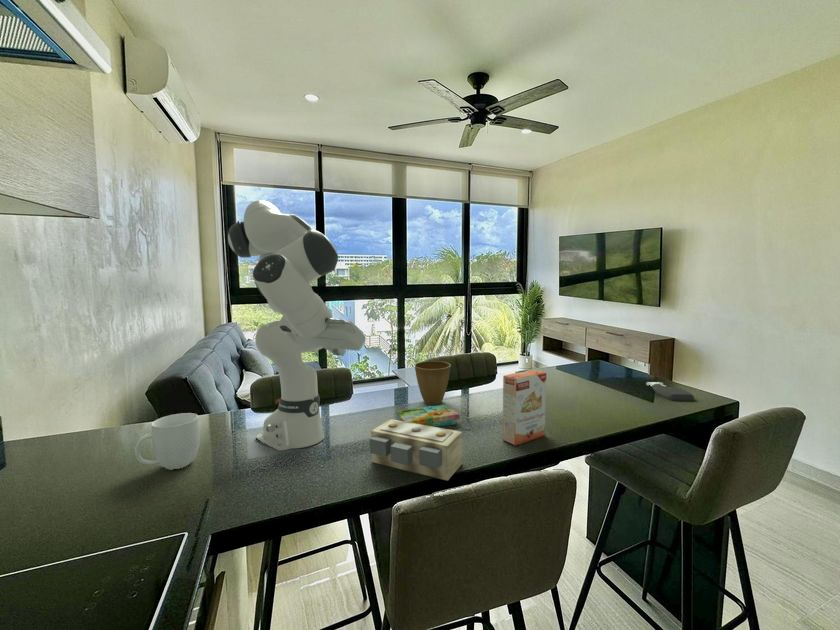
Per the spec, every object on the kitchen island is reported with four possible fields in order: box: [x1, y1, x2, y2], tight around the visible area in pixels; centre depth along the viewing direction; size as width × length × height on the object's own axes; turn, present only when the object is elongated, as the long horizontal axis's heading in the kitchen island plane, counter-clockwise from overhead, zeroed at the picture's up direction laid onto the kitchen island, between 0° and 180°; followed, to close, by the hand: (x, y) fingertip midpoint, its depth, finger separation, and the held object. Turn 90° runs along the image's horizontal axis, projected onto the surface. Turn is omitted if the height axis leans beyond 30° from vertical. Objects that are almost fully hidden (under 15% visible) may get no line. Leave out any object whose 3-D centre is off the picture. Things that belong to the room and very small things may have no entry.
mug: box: [134, 412, 200, 468], centre depth 104 cm, size 15×11×13 cm
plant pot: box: [414, 360, 452, 406], centre depth 157 cm, size 15×15×16 cm
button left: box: [369, 436, 391, 457], centre depth 102 cm, size 5×2×4 cm, turn 62°
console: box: [370, 418, 463, 482], centre depth 104 cm, size 23×10×10 cm, turn 62°
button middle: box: [391, 443, 413, 465], centre depth 97 cm, size 5×2×4 cm, turn 62°
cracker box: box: [501, 369, 547, 447], centre depth 119 cm, size 14×6×21 cm, turn 123°
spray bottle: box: [646, 381, 695, 402], centre depth 166 cm, size 3×11×24 cm
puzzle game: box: [395, 404, 461, 427], centre depth 134 cm, size 12×5×20 cm
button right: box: [419, 446, 442, 469], centre depth 95 cm, size 5×2×4 cm, turn 62°
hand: (340, 353), depth 94 cm, fingers closed
